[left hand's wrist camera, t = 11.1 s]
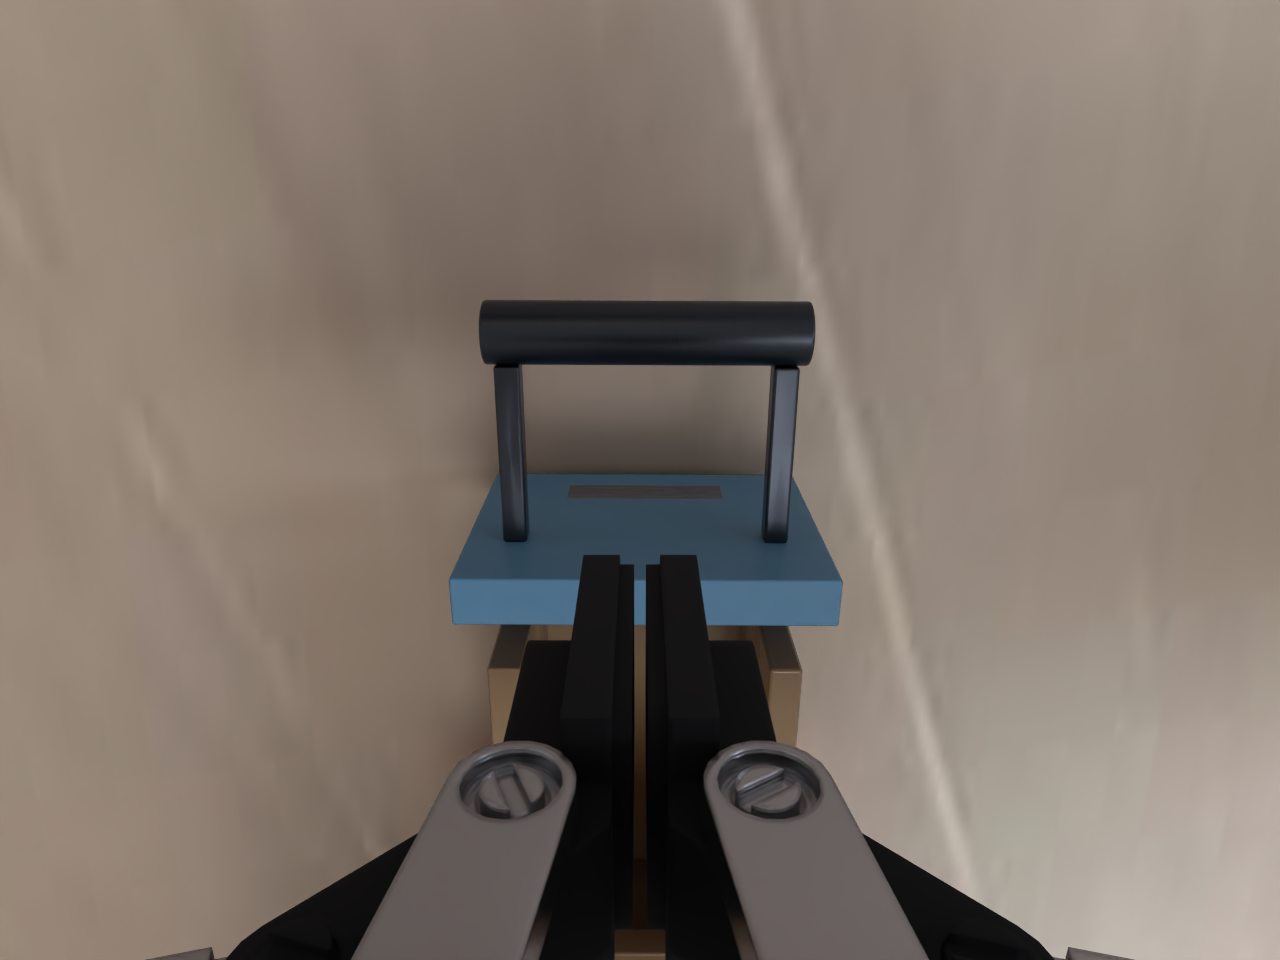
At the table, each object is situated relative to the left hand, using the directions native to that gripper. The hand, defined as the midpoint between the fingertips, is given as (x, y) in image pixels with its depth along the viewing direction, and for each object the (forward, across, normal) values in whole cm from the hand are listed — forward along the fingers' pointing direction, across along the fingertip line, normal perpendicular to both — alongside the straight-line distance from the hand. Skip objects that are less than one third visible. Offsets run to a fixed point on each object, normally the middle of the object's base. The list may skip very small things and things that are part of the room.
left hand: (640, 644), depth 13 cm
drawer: (+13, 0, -7) cm, 15 cm away
